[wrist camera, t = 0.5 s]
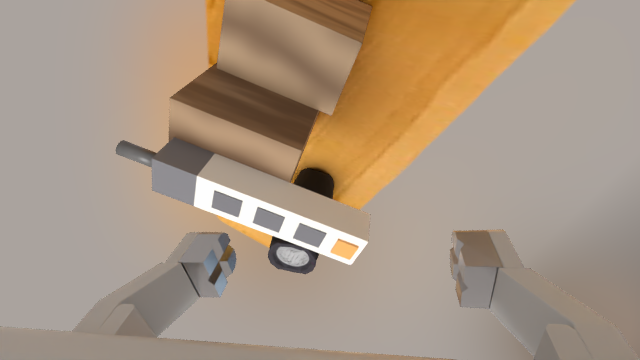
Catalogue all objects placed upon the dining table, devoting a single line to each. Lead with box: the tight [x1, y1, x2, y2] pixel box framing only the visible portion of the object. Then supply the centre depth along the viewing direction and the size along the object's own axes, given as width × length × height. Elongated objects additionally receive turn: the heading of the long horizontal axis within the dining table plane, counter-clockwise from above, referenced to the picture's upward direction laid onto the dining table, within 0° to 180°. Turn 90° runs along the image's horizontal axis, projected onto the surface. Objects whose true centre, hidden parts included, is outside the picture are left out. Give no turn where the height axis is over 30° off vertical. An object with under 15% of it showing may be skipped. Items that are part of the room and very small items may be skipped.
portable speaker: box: [268, 168, 334, 274], centre depth 56 cm, size 9×9×20 cm
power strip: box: [116, 137, 370, 265], centre depth 29 cm, size 4×24×4 cm, turn 71°
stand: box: [169, 0, 372, 183], centre depth 38 cm, size 20×14×26 cm
